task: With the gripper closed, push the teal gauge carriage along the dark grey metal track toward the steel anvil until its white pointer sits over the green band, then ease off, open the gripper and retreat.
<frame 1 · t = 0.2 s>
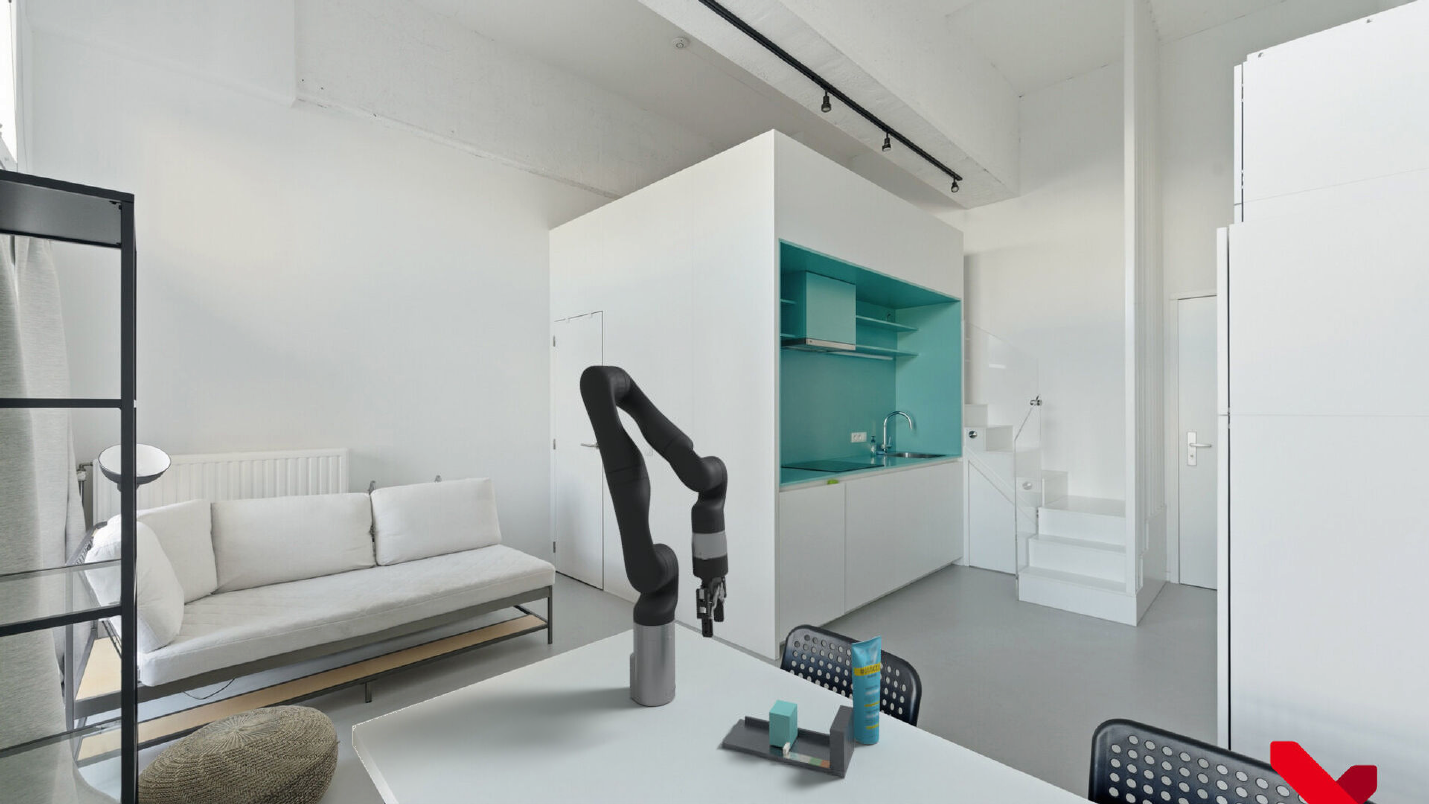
hand: (713, 629, 125), 18 cm above the table, tool pointing down, fingers open, 8 cm apart
gauge carriage: (781, 726, 112), point 4 cm above the table, slide at 0.0 cm
tube: (867, 739, 116), on the table
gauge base: (787, 749, 112), on the table
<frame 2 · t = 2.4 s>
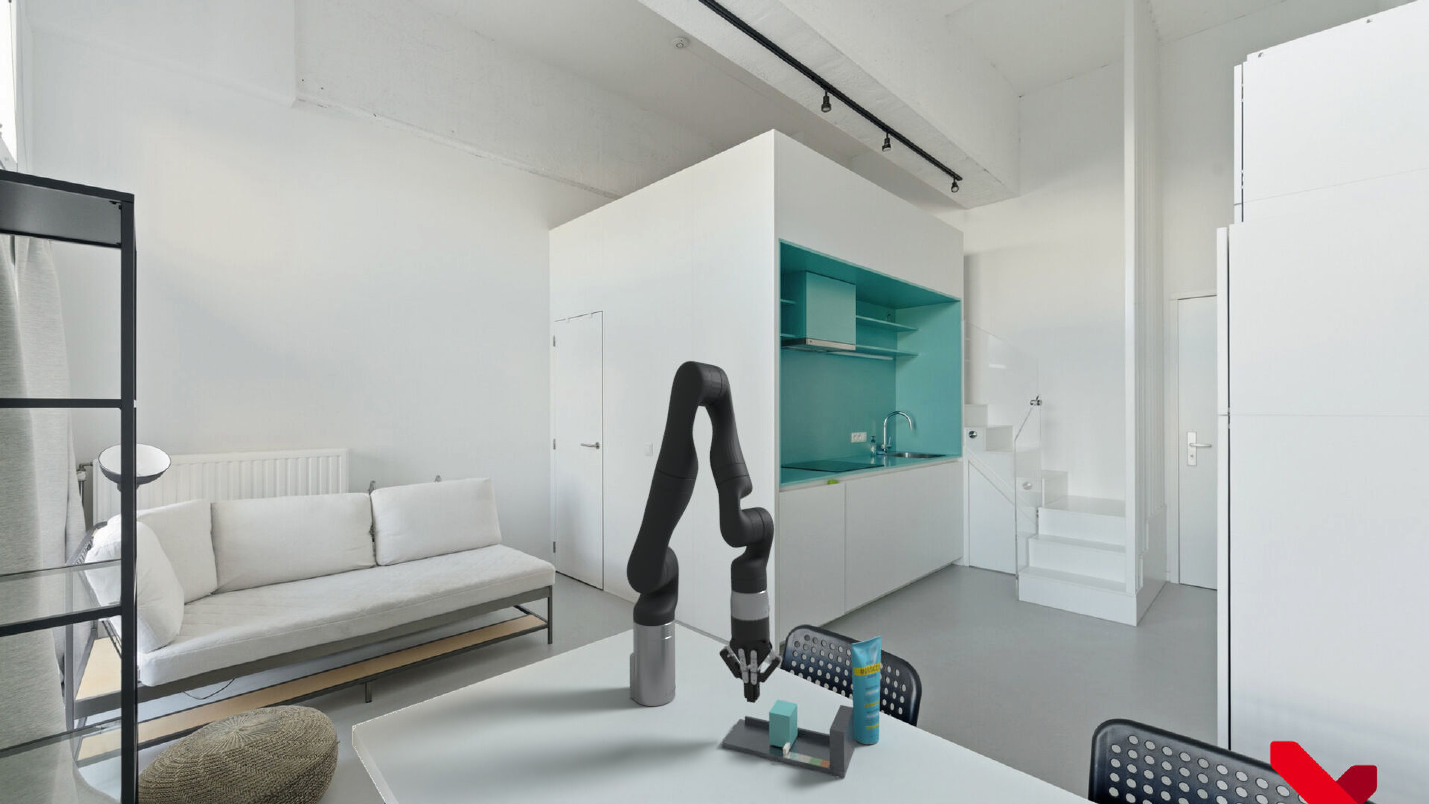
hand: (752, 700, 116), 7 cm above the table, tool pointing down, fingers closed
nothing on the table moved.
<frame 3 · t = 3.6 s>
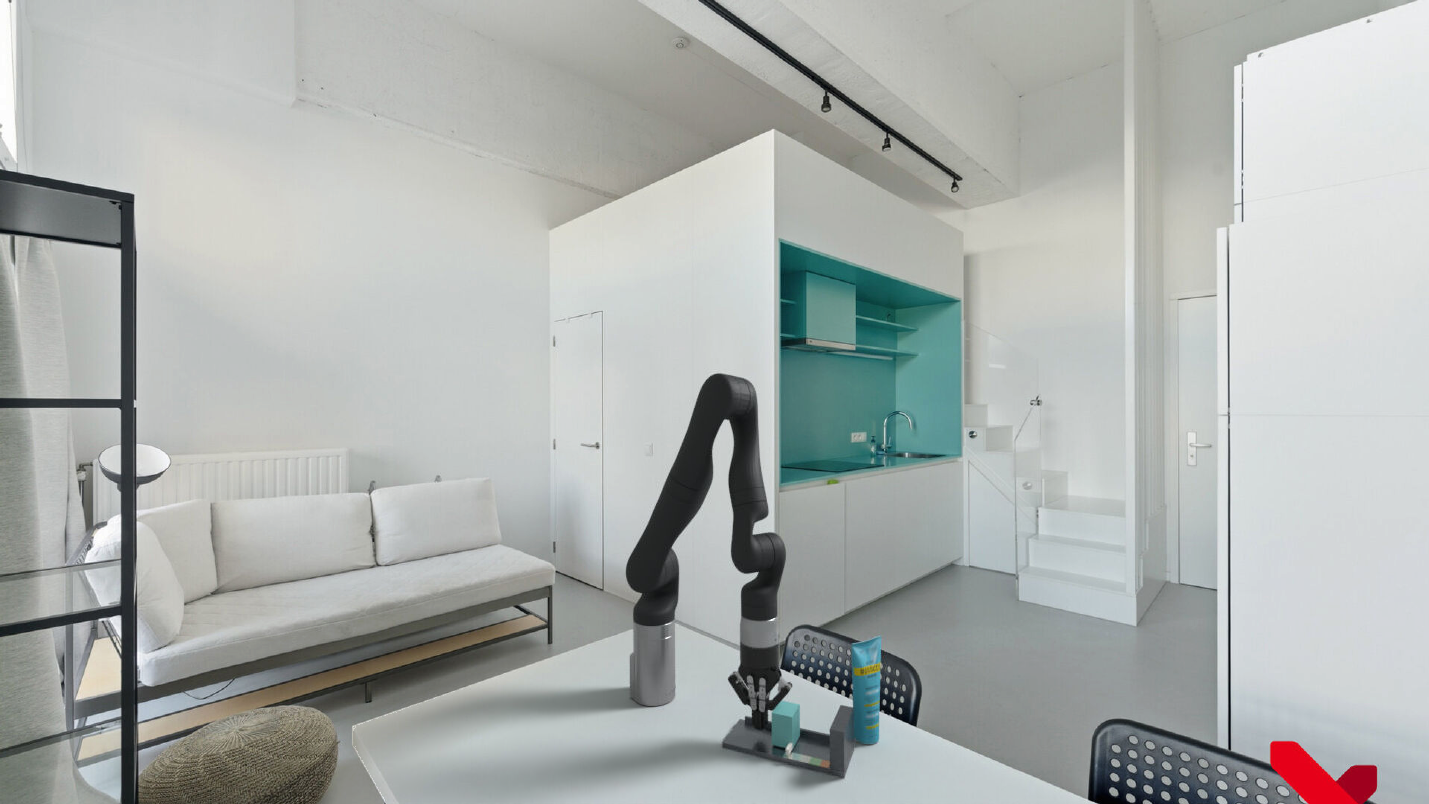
hand: (760, 727, 115), 3 cm above the table, tool pointing down, fingers closed
gauge carriage: (784, 727, 112), point 4 cm above the table, slide at 0.5 cm, touching hand
everything else where it was.
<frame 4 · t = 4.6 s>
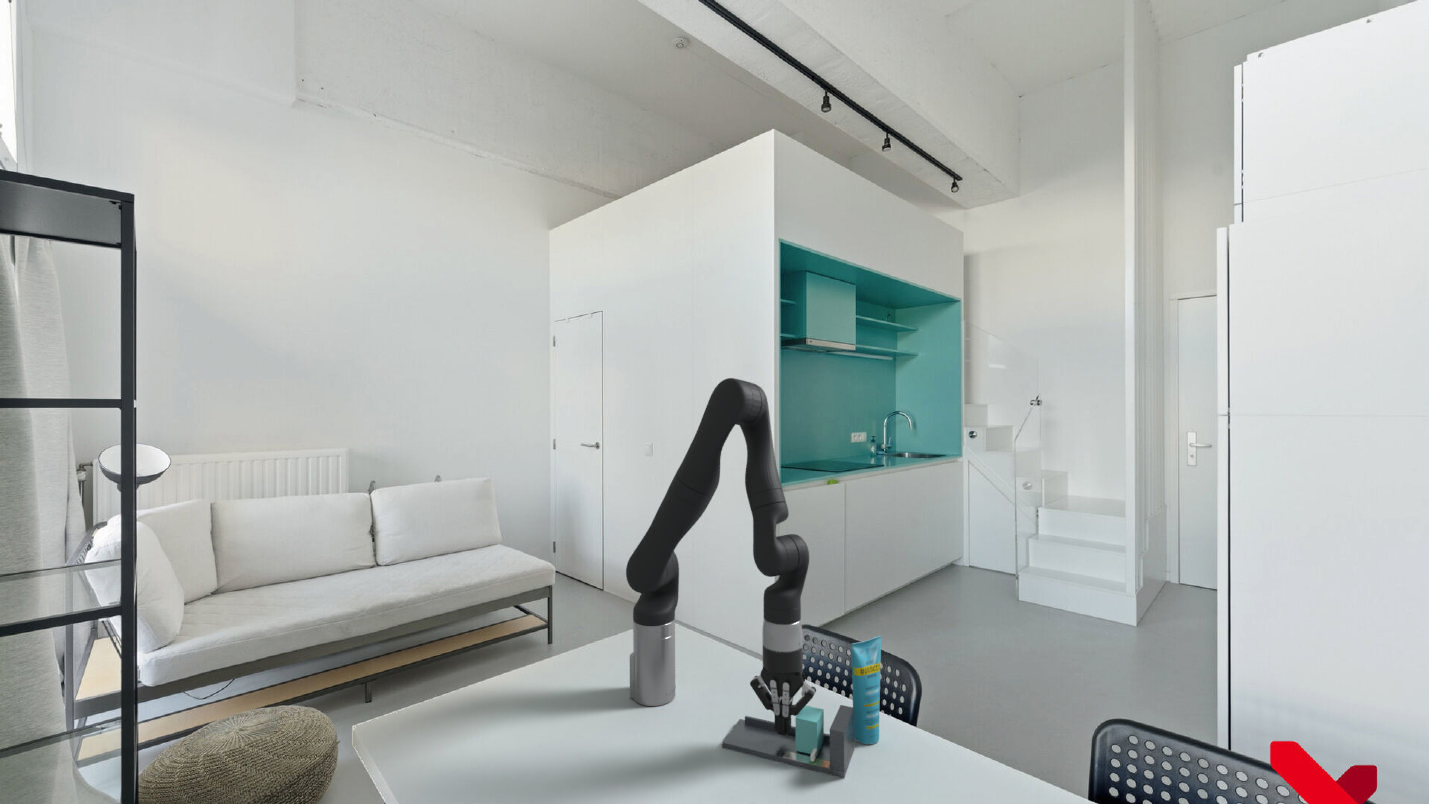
hand: (783, 733, 113), 3 cm above the table, tool pointing down, fingers closed
gauge carriage: (808, 732, 110), point 4 cm above the table, slide at 5.1 cm, touching hand
everything else where it was.
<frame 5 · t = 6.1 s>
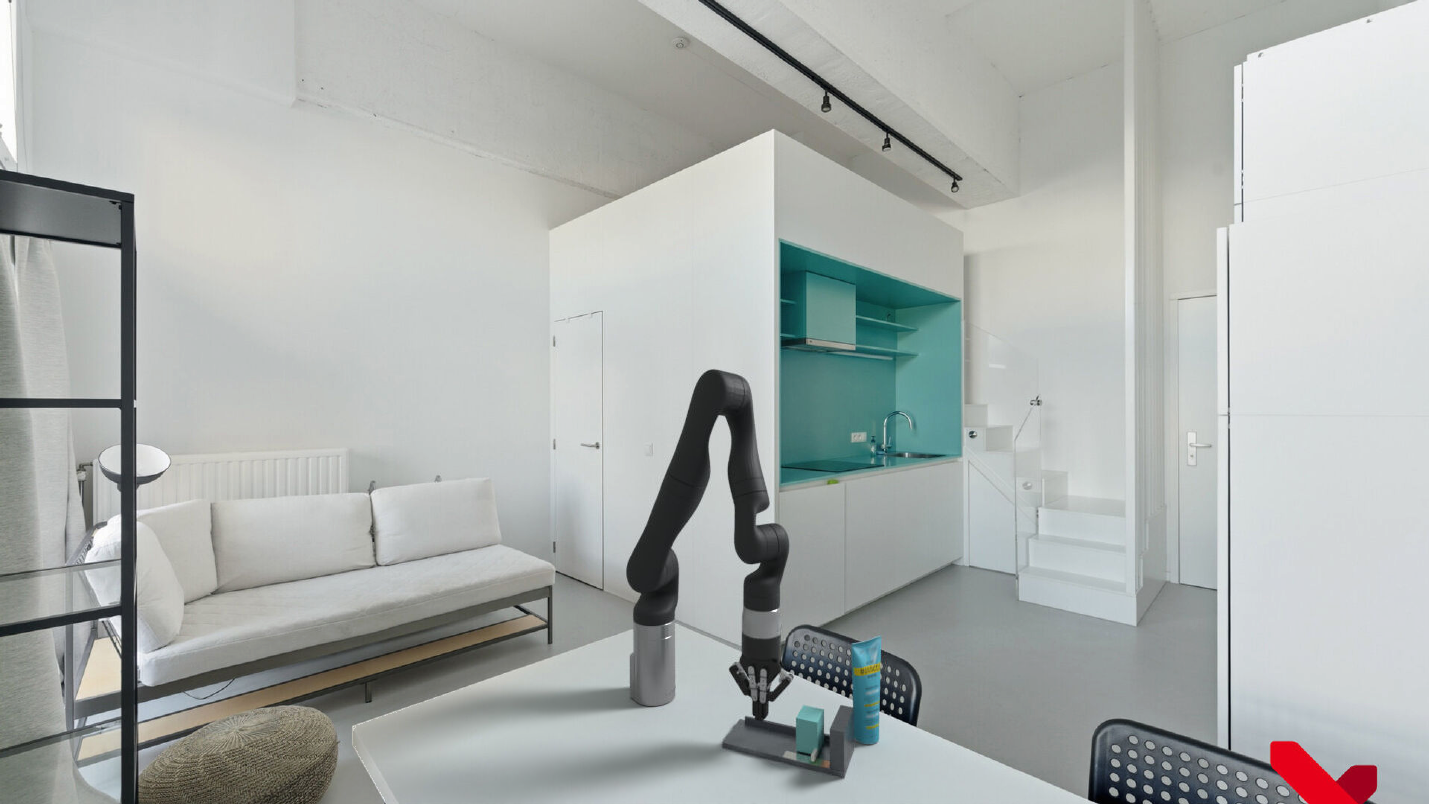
hand: (760, 718, 114), 5 cm above the table, tool pointing down, fingers closed
gauge carriage: (808, 732, 110), point 4 cm above the table, slide at 5.2 cm
everything else where it was.
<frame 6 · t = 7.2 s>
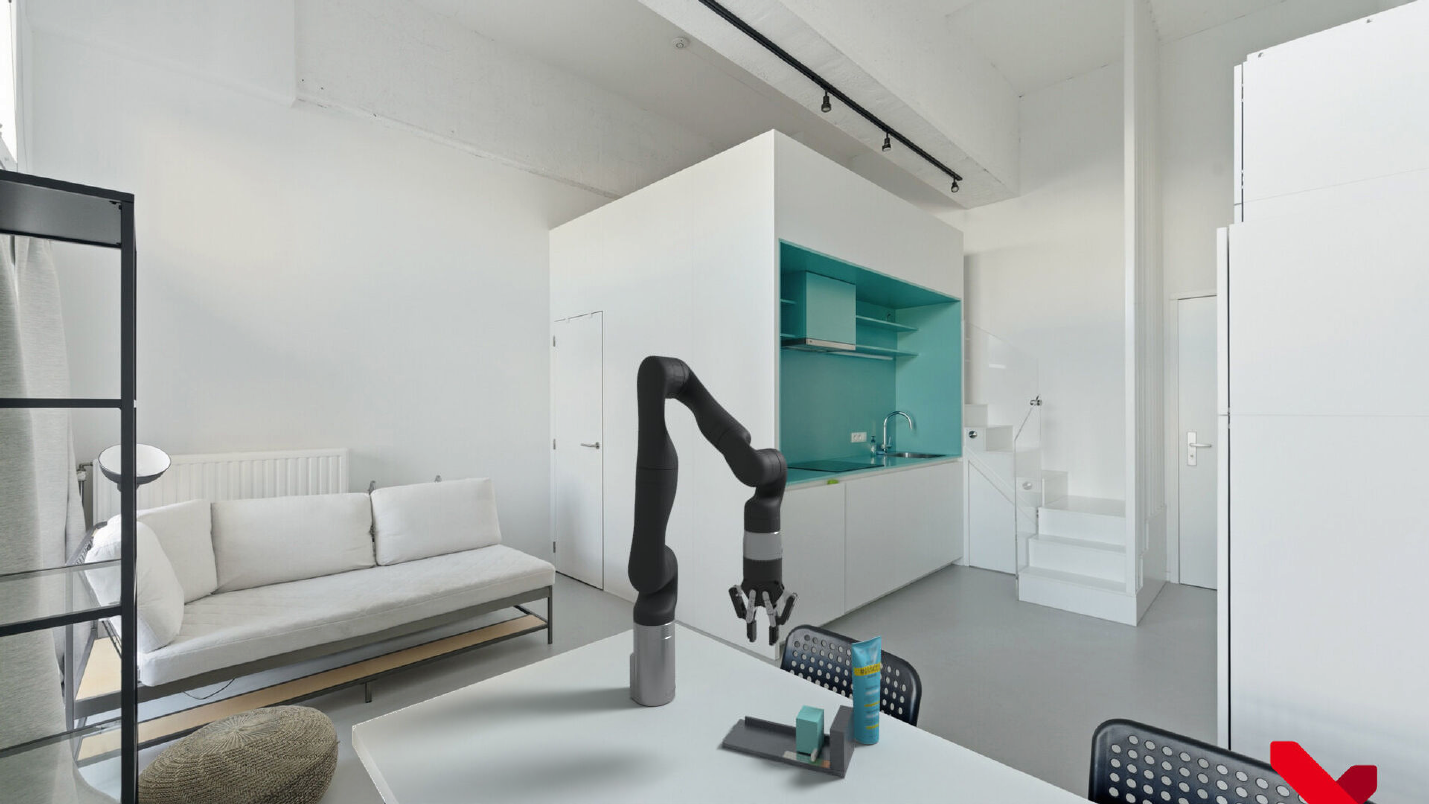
hand: (762, 642, 115), 19 cm above the table, tool pointing down, fingers open, 3 cm apart
nothing on the table moved.
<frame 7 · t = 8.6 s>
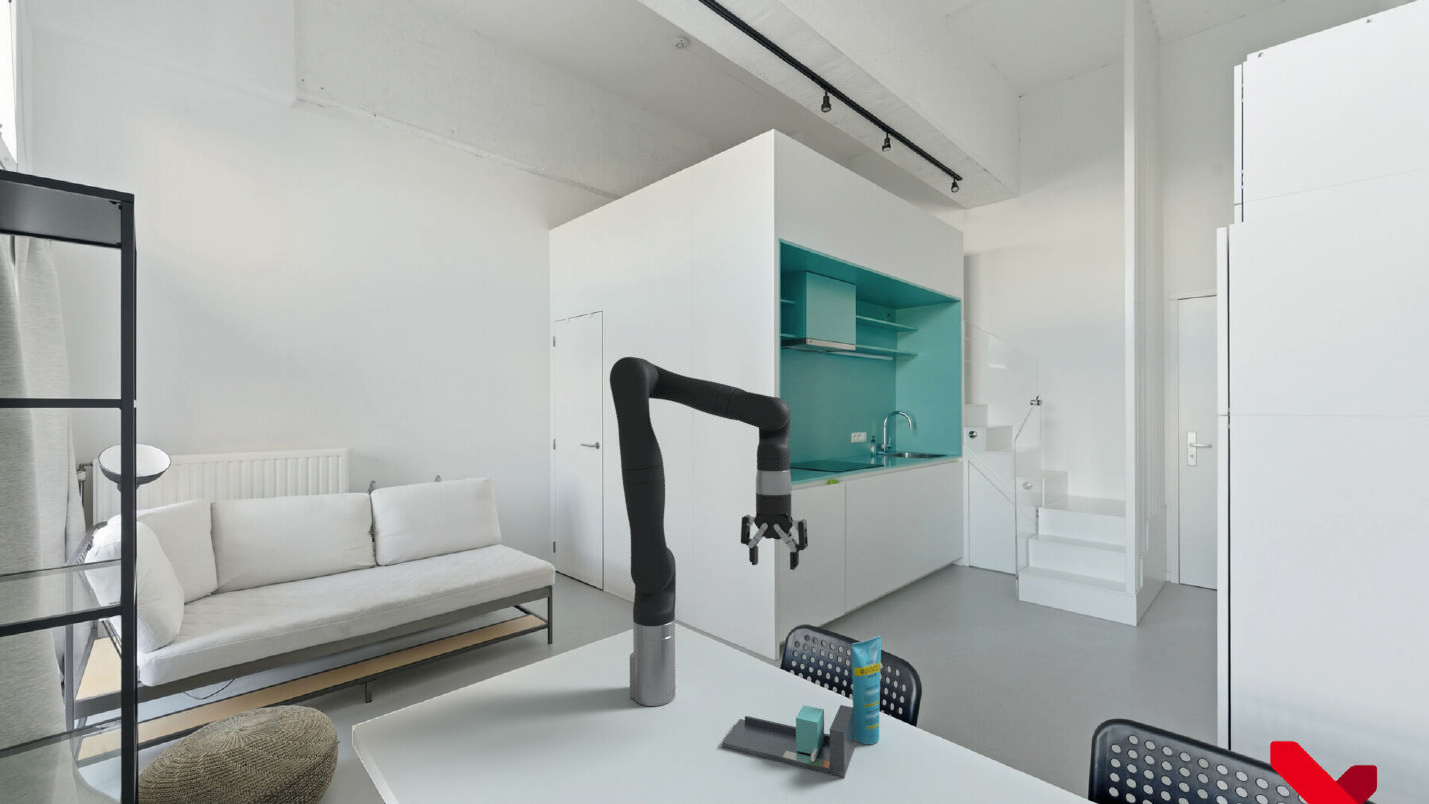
hand: (773, 566, 127), 30 cm above the table, tool pointing down, fingers open, 8 cm apart
nothing on the table moved.
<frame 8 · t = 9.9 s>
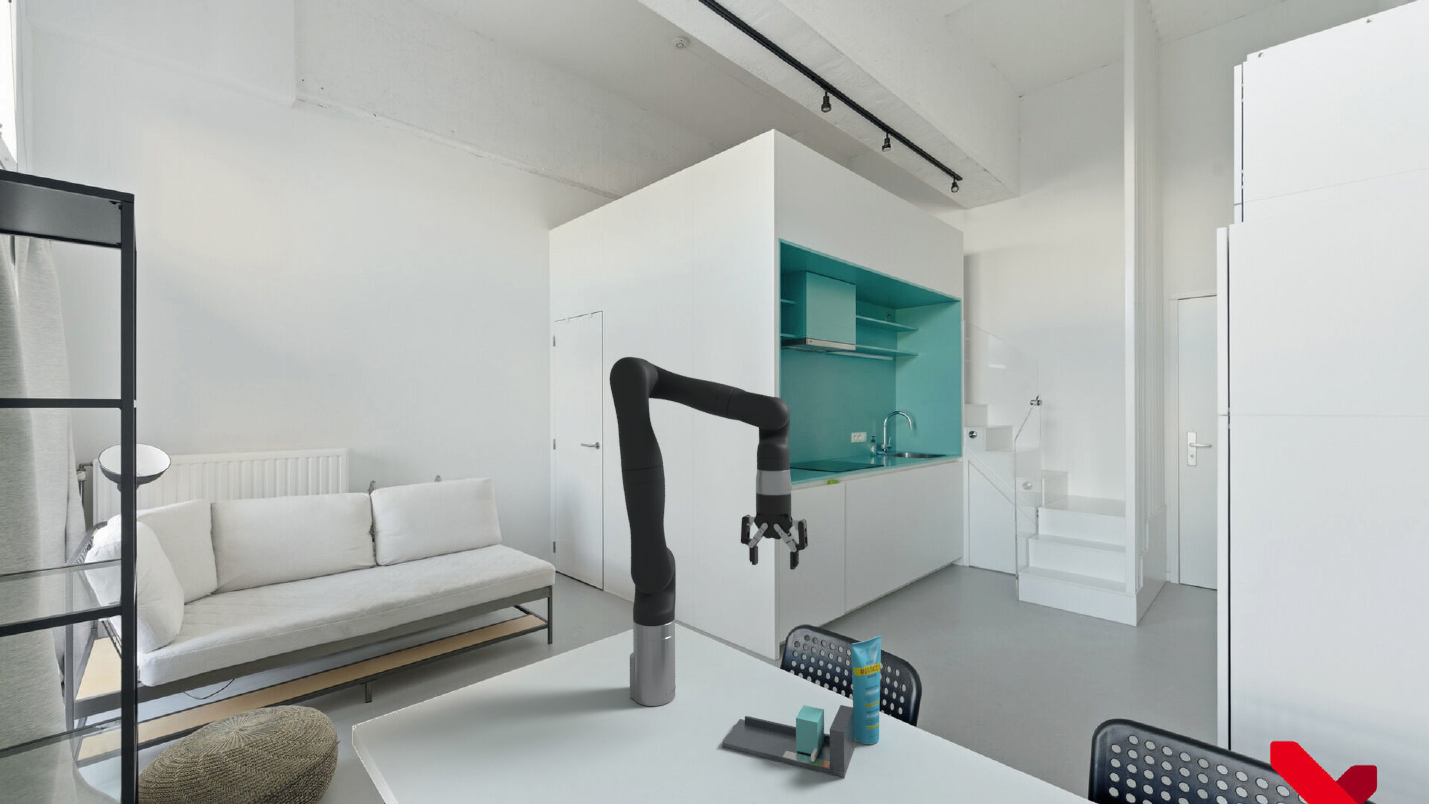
hand: (773, 566, 127), 30 cm above the table, tool pointing down, fingers open, 8 cm apart
nothing on the table moved.
at the end: gauge carriage slide at 5.2 cm; gauge carriage touching nothing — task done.
